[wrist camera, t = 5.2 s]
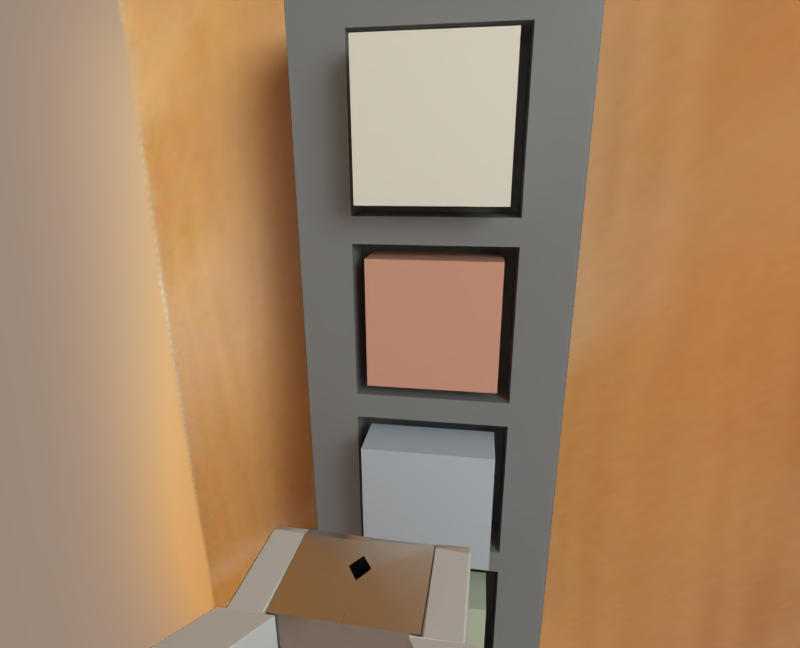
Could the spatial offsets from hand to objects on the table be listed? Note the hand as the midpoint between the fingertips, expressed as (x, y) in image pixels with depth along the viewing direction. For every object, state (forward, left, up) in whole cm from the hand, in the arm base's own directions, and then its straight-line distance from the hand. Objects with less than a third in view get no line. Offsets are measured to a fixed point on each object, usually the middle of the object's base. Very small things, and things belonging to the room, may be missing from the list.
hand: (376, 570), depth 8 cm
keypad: (-2, +2, -16) cm, 16 cm away
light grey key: (-5, +5, -12) cm, 14 cm away
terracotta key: (0, 0, -14) cm, 14 cm away
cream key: (+6, -5, -12) cm, 14 cm away
